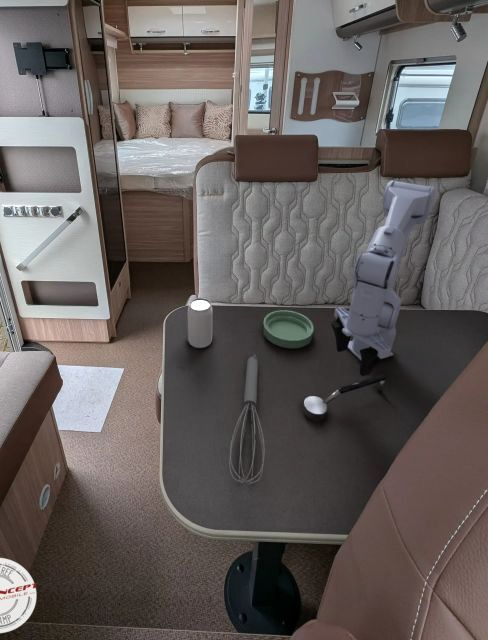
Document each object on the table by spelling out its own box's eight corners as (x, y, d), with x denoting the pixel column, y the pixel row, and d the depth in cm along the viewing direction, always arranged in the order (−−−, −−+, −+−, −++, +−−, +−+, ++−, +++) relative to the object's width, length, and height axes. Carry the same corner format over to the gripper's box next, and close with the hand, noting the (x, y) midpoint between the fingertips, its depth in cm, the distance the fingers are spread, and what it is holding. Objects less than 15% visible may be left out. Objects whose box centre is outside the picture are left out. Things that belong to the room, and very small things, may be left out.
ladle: (311, 423, 75) (314, 408, 73) (298, 405, 79) (301, 390, 77) (389, 397, 82) (393, 382, 79) (373, 382, 86) (377, 367, 84)
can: (187, 333, 101) (187, 297, 95) (211, 332, 101) (211, 296, 96) (188, 349, 95) (187, 311, 90) (213, 348, 96) (213, 310, 90)
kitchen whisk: (264, 359, 92) (266, 340, 89) (262, 497, 62) (264, 474, 59) (240, 357, 93) (241, 337, 90) (226, 492, 63) (227, 469, 60)
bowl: (295, 315, 109) (296, 306, 108) (322, 343, 98) (323, 334, 96) (254, 324, 105) (255, 315, 104) (277, 355, 94) (278, 345, 92)
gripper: (326, 294, 77) (317, 344, 83) (375, 335, 65) (360, 391, 71) (353, 288, 79) (343, 337, 85) (405, 328, 67) (388, 382, 73)
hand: (352, 361), depth 78 cm, fingers open, 7 cm apart
